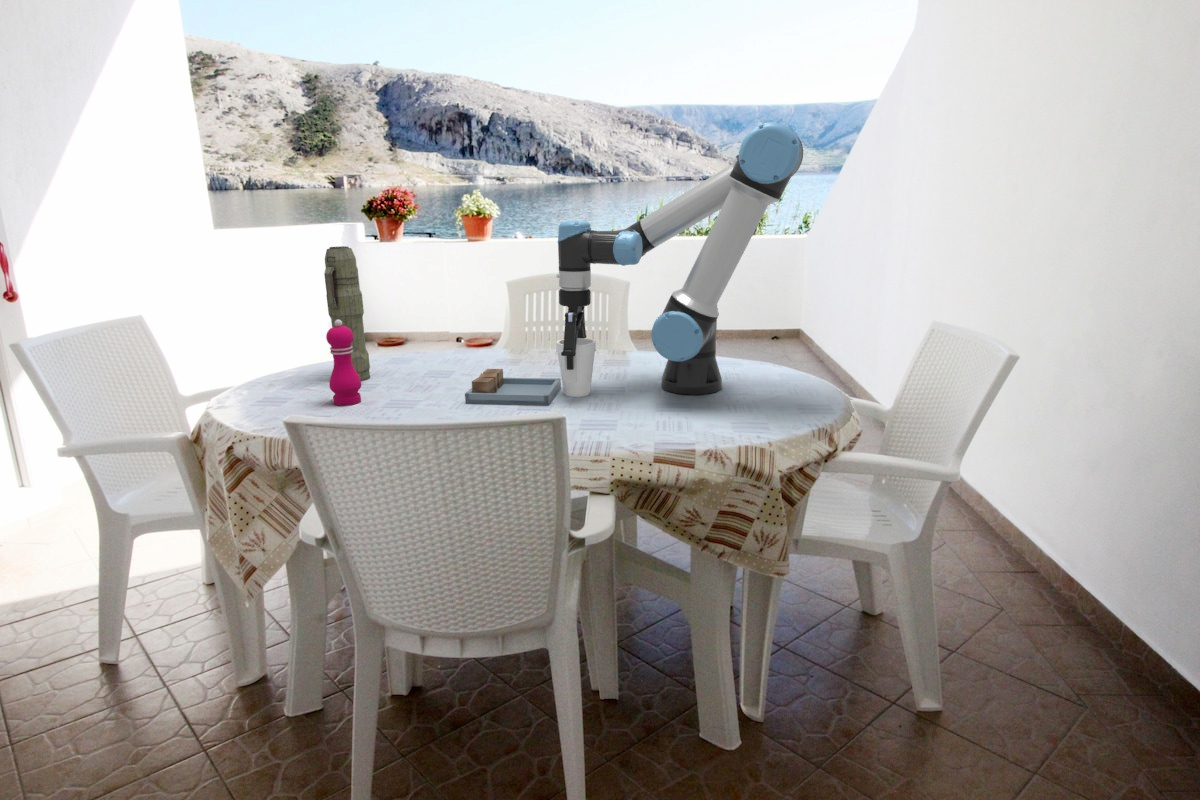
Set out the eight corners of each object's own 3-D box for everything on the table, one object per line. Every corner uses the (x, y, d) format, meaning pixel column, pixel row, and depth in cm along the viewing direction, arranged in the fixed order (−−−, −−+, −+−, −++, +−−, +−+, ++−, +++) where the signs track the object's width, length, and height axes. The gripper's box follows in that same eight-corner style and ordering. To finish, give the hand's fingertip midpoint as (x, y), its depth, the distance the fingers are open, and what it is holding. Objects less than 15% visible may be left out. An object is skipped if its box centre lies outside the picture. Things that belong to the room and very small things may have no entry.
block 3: (503, 384, 182) (502, 369, 180) (499, 388, 178) (498, 372, 177) (488, 383, 182) (487, 368, 181) (483, 388, 178) (482, 372, 177)
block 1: (494, 394, 173) (493, 378, 172) (488, 398, 169) (487, 382, 168) (479, 393, 174) (478, 377, 172) (472, 397, 170) (471, 381, 169)
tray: (560, 387, 181) (560, 378, 181) (548, 405, 166) (548, 395, 166) (484, 386, 184) (483, 377, 183) (465, 403, 169) (464, 393, 168)
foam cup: (579, 400, 170) (578, 347, 166) (550, 394, 175) (548, 342, 172) (603, 392, 177) (602, 340, 173) (574, 386, 182) (573, 336, 179)
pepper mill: (333, 407, 167) (323, 323, 161) (329, 400, 173) (319, 318, 167) (365, 403, 170) (356, 320, 164) (360, 396, 176) (351, 316, 170)
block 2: (498, 388, 178) (497, 373, 176) (496, 392, 174) (495, 376, 173) (481, 388, 177) (481, 373, 176) (479, 393, 174) (478, 377, 173)
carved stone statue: (326, 383, 189) (310, 248, 179) (349, 372, 200) (335, 245, 190) (357, 384, 187) (342, 248, 177) (378, 373, 198) (365, 245, 188)
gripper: (567, 281, 181) (568, 363, 187) (549, 295, 157) (550, 388, 163) (597, 282, 180) (597, 363, 186) (582, 296, 157) (583, 389, 163)
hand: (575, 375), depth 175 cm, fingers open, 13 cm apart
